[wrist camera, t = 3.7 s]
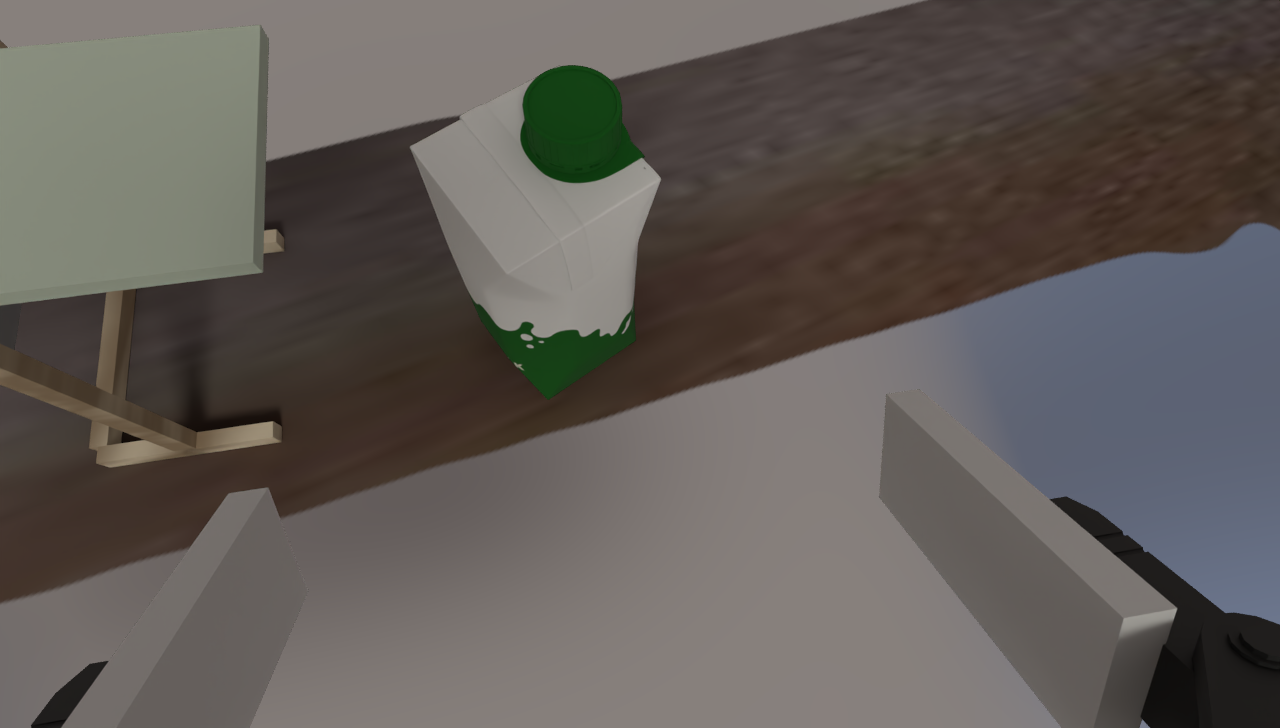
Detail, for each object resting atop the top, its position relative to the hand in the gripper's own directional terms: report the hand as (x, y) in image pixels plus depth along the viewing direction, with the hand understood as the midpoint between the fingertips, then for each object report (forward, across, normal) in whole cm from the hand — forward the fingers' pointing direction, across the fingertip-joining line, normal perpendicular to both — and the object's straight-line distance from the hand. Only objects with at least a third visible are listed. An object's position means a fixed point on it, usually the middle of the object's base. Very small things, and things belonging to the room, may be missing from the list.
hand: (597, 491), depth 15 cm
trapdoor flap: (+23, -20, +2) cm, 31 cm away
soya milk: (+30, -1, -8) cm, 32 cm away
